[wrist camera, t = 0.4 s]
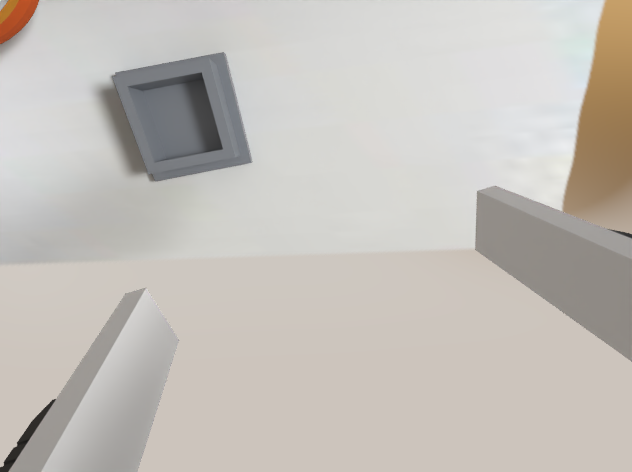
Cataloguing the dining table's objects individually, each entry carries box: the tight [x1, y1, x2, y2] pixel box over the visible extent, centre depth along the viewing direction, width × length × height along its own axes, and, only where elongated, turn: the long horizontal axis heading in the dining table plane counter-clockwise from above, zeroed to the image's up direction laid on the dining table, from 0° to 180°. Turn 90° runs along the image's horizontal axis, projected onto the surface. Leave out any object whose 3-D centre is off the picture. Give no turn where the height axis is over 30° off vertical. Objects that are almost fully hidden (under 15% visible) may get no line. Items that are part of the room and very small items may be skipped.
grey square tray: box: [112, 52, 252, 181], centre depth 30 cm, size 11×11×4 cm
